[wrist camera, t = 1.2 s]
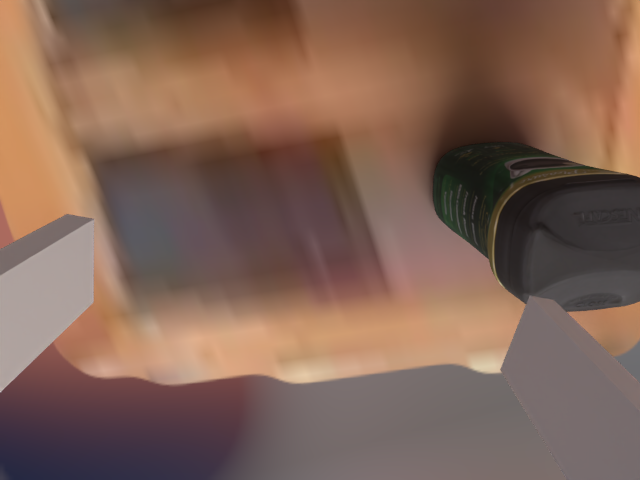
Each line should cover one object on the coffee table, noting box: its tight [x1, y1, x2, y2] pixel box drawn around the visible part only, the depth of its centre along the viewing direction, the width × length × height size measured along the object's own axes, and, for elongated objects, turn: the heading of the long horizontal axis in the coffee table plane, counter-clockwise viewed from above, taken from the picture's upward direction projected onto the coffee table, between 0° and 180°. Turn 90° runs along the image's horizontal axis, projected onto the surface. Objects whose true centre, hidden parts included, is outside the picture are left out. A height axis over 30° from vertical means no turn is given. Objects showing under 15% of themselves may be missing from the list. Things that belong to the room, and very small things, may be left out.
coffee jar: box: [433, 142, 640, 312], centre depth 31 cm, size 10×8×19 cm
